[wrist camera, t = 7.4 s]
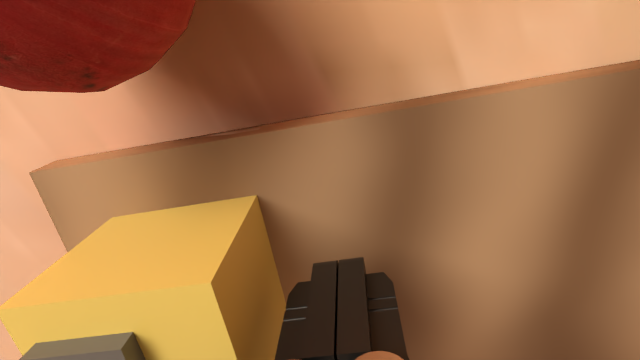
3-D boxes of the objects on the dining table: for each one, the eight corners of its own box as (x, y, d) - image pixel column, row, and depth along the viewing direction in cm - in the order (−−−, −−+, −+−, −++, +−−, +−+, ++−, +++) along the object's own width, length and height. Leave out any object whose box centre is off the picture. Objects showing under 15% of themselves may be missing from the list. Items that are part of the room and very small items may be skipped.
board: (758, 39, 11) (807, 40, 9) (669, 461, 17) (692, 491, 16) (55, 160, 13) (28, 172, 12) (204, 488, 19) (195, 516, 18)
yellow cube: (256, 194, 12) (202, 298, 7) (290, 320, 14) (263, 468, 9) (111, 217, 12) (-26, 326, 8) (161, 334, 14) (73, 481, 10)
